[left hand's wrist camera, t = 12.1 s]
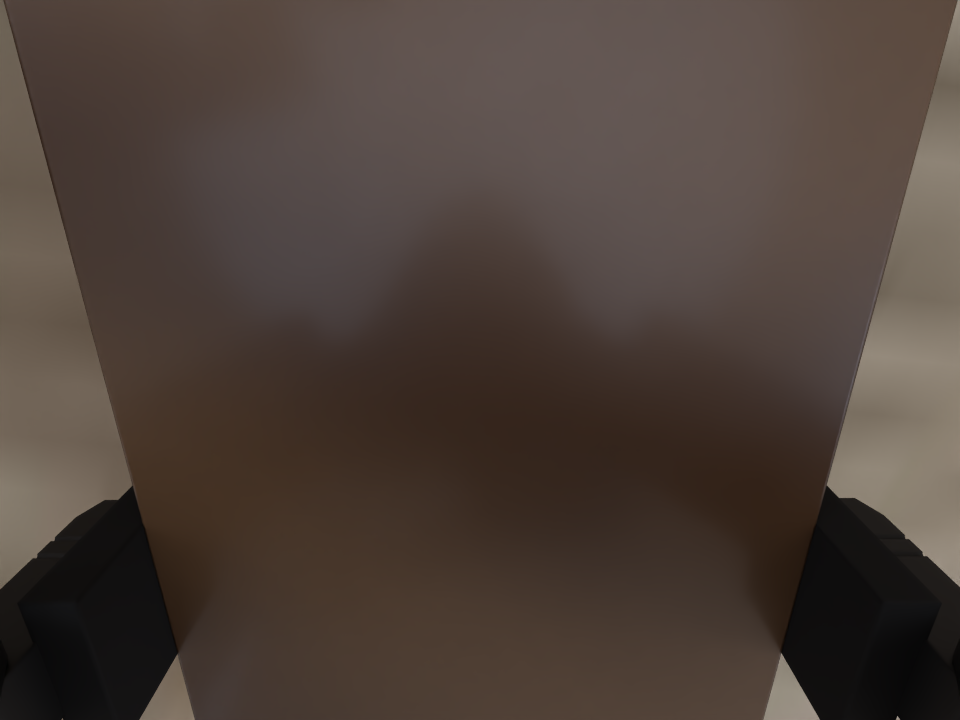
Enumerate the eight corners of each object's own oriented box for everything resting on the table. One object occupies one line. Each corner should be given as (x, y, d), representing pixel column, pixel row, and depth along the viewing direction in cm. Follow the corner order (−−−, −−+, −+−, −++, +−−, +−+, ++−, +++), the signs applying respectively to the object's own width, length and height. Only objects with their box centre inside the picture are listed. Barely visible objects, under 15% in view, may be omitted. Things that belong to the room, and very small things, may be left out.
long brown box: (280, -132, 15) (-214, -796, 4) (679, -131, 15) (1175, -788, 4) (340, 446, 21) (202, 755, 11) (618, 447, 21) (755, 755, 11)
